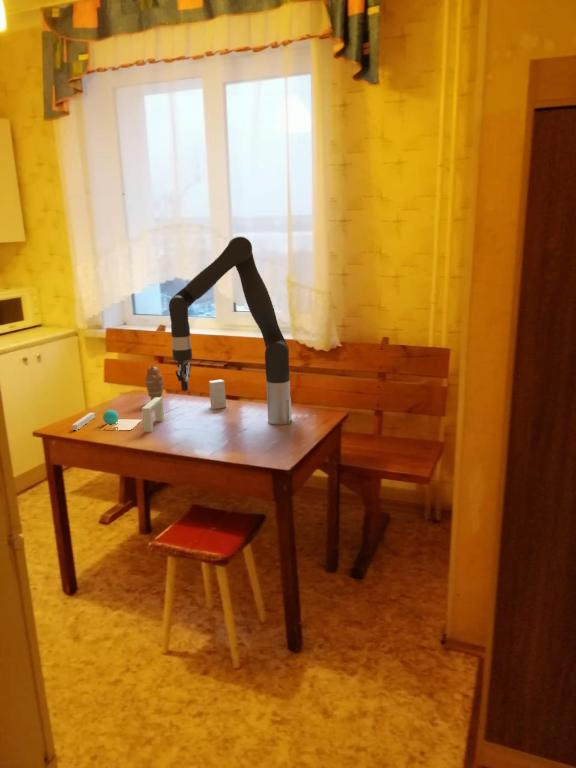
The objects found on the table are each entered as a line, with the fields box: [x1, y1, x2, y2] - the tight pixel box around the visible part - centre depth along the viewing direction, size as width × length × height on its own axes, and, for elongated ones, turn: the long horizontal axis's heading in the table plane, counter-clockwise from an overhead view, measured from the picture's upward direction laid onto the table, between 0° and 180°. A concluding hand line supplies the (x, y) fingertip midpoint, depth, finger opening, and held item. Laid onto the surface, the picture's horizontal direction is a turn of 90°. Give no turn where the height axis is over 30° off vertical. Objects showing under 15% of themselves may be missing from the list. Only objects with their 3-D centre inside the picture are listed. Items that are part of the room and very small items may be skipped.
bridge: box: [141, 396, 165, 433], centre depth 240 cm, size 3×15×10 cm, turn 172°
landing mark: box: [112, 418, 143, 431], centre depth 244 cm, size 13×13×1 cm
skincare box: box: [208, 379, 227, 410], centre depth 262 cm, size 6×4×12 cm
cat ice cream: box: [144, 363, 164, 401], centre depth 269 cm, size 9×8×18 cm
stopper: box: [71, 412, 96, 431], centre depth 245 cm, size 2×16×2 cm, turn 172°
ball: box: [102, 409, 119, 425], centre depth 244 cm, size 6×6×6 cm
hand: (185, 390), depth 236 cm, fingers closed
